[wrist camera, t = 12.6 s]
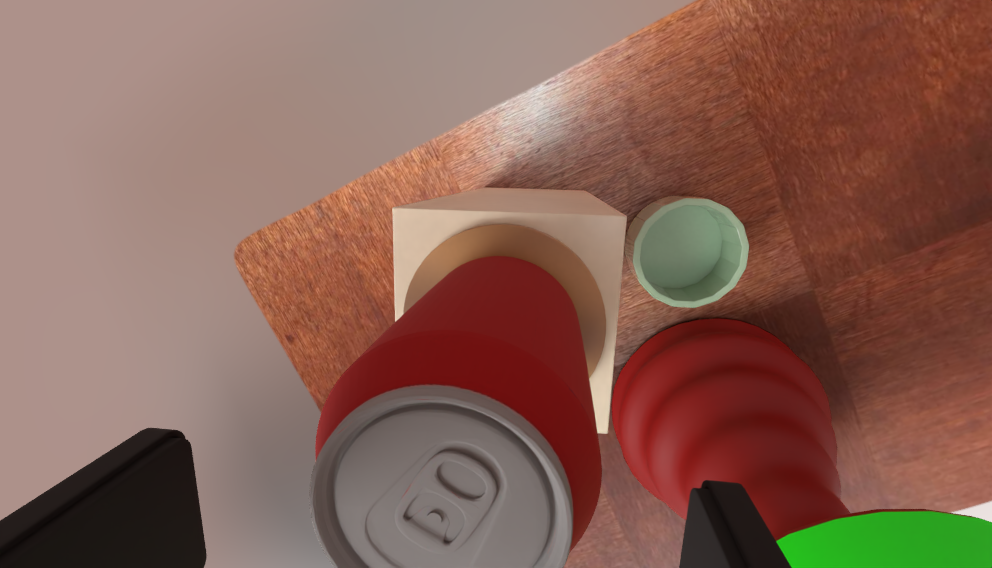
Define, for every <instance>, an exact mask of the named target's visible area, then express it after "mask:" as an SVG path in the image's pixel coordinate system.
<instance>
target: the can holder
mask: <svg viewBox="0 0 992 568" xmlns="http://www.w3.org/2000/svg"><path fill="white" fill-rule="evenodd" d="M748 252H749V243H748V239H747V236H746V232H745V229H744V226H743V224H742V223H741V222H740V220H739V219H738V218H737V217H736V216H735V215H734V213H733V212H732V211H731V210H730V209H729V208H727V207H725V206H723V205H721V204H719V203H716V202H714V201H712V200H710V199H706V198H700V197H694V196H681V195H679V196H675V195H672V196H669V197H665V198H661V199H659V200H656V201H654V202H652V203H651V204H649V205H647V206H646V207H645V208H643V209H642V210H641V211H640V212H639V213H638V214H637V216H636V217H635V218H634V220H633V221H632V223H631V224H630V227H629V229H628V231H627V235H626V239H625V256H626V259H627V263H628V265H629V268H630V271H631V272H632V274H633V275H634V276H635V277H636V279H637V280H638V281H639V283H640V284H641V285H642V286H643V287H644V288H645V289H646V290H647V292H648V293H649V294H650V295H651V296H652V297H653V298H655V299H657V300H659V301H661V302H664V303H666V304H668V305H670V306H673V307H688V308H696V307H699V306H702V305H705V304H708V303H712V302H715V301H717V300H718V299H720V298H721V297H722V296H724V295H725V294H726V293H728V292H729V291H730V290H731V289H733V288H734V287H735V285H736V284H737V282H738V280H739V279H740V277H741V276H742V274H743V272H744V271H745V269H746V265H747V258H748Z"/></svg>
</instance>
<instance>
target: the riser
mask: <svg viewBox="0 0 992 568" xmlns="http://www.w3.org/2000/svg"><path fill="white" fill-rule="evenodd" d="M626 221H627V216H626V215H624V214H622V213H621V212H619V211H618V210H616V209H614V208H613V207H611V206H609V205H608V204H606V203H605V202H603V201H601V200H600V199H598V198H597V197H595V196H593V195H592V194H590V193H588V192H587V191H585V190H555V189H522V188H490V187H484V188H479V189H475V190H470V191H466V192H461V193H457V194H452V195H448V196H443V197H439V198H434V199H429V200H425V201H420V202H416V203H411V204H407V205H402V206H398V207H393V248H394V290H395V322H396V321H397V320H398V319H399V318H400V317H401V316H402V315H403V310H404V303H405V297H406V294H407V290H408V287H409V284H410V282H411V280H412V278H413V276H414V274H415V272H416V270H417V269H418V267H419V266H420V265H421V263H422V262H423V260H424V259H425V258H426V257H427V256H428V255H429V254H430V253H431V252H432V251H433V250H434V249H435V248H436V247H438V246H439V245H440V244H441V243H443V242H444V241H446V240H447V239H449V238H451V237H452V236H454V235H456V234H458V233H460V232H462V231H465V230H467V229H471V228H474V227H477V226H482V225H488V224H504V223H506V224H516V225H522V226H526V227H531V228H534V229H537V230H539V231H542V232H545V233H547V234H549V235H551V236H552V237H554V238H556V239H558V240H559V241H561V242H562V243H564V244H565V245H566V246H568V247H569V248H570V249H571V250H572V251H573V252H574V253H575V254H577V255H578V256H579V257H580V259H581V260H582V261H583V262H584V264H585V265H586V266H587V267H588V269H589V270H590V272H591V274H592V275H593V277H594V279H595V281H596V283H597V285H598V288H599V290H600V292H601V295H602V299H603V303H604V306H605V314H606V337H605V343H604V348H603V351H602V355H601V358H600V360H599V362H598V364H597V367H596V369H595V371H594V372H593V374H592V375H591V377H590V378H589V380H590V387H591V393H592V400H593V406H594V412H595V419H596V426H597V433H605V434H607V433H608V424H609V413H610V402H611V391H612V379H613V368H614V357H615V345H616V334H617V323H618V312H619V300H620V289H621V278H622V266H623V255H624V244H625V233H626Z"/></svg>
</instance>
